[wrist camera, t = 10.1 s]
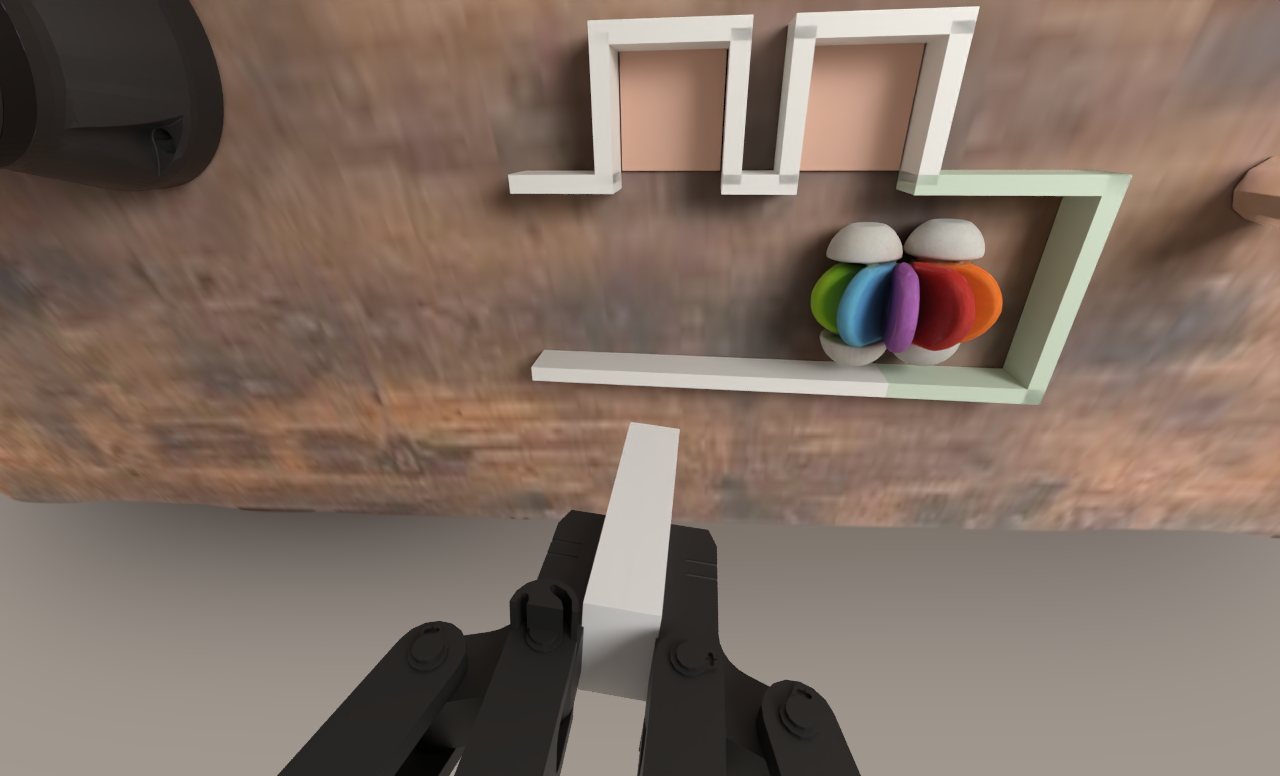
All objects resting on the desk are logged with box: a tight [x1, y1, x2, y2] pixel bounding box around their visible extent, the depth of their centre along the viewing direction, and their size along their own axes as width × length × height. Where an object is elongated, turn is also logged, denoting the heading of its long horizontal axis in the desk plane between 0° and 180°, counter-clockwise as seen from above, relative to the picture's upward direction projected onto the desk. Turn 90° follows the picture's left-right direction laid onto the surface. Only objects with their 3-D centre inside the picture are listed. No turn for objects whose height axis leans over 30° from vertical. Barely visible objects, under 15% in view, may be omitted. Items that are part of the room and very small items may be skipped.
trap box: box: [508, 6, 1132, 405], centre depth 30 cm, size 32×20×3 cm, turn 91°
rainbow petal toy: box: [811, 218, 1002, 367], centre depth 29 cm, size 8×10×7 cm
